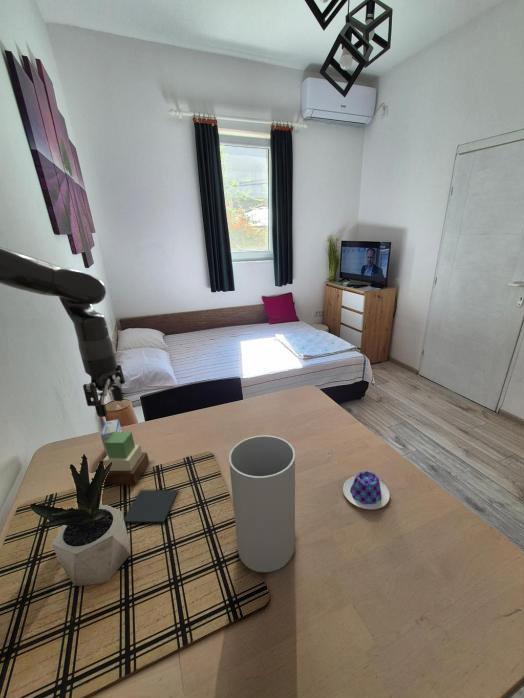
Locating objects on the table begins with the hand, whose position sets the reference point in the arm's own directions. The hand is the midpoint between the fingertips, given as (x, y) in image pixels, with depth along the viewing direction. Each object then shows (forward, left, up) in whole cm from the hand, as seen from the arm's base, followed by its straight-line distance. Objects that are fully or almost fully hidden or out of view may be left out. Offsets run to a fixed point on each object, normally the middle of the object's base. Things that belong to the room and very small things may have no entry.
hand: (111, 408), depth 90 cm
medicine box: (-6, +6, -19) cm, 21 cm away
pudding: (+70, -12, -19) cm, 73 cm away
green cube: (+3, -5, -11) cm, 13 cm away
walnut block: (+3, -5, -19) cm, 20 cm away
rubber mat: (+15, -17, -19) cm, 29 cm away
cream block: (+3, -5, -15) cm, 16 cm away
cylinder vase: (+45, -28, -19) cm, 56 cm away
